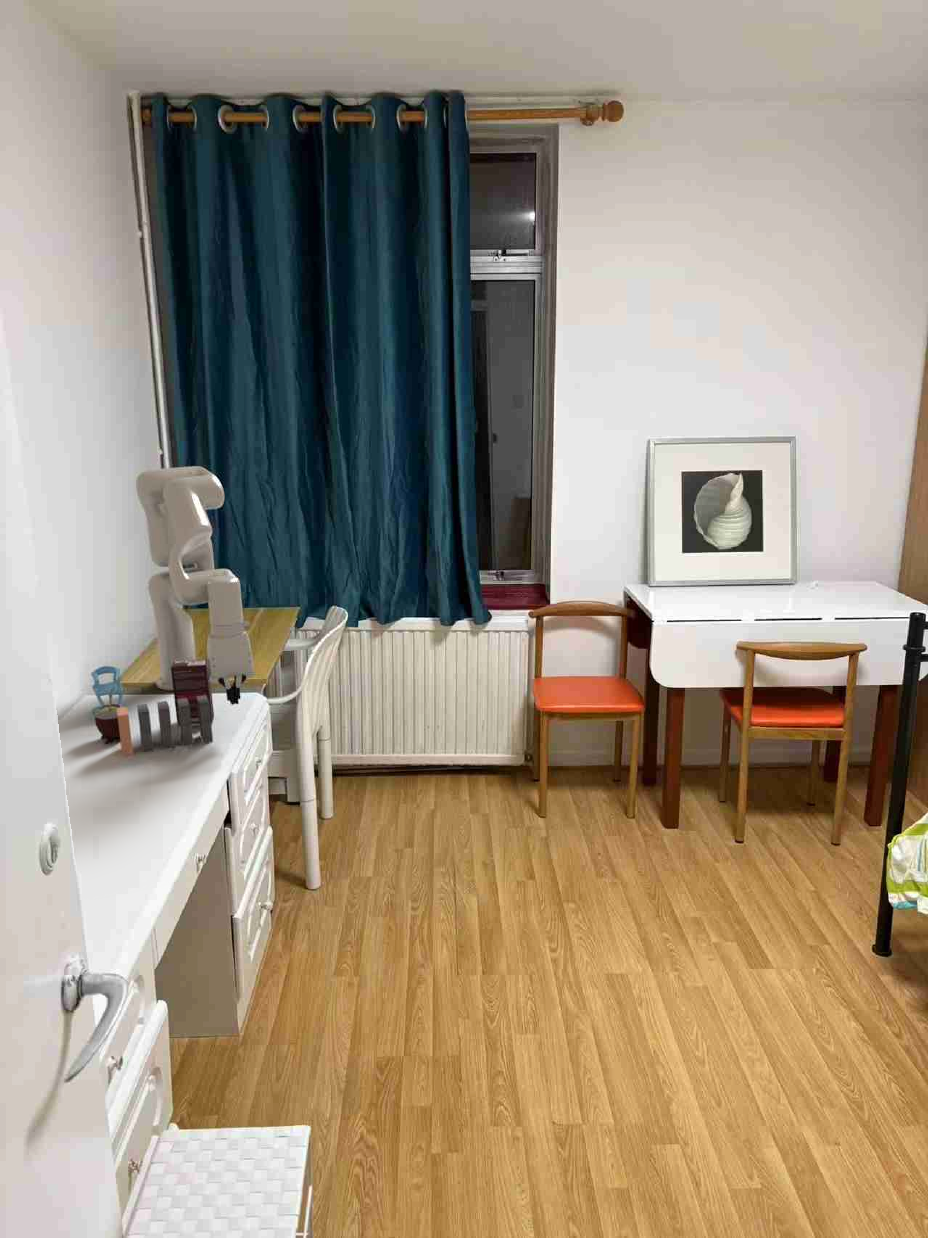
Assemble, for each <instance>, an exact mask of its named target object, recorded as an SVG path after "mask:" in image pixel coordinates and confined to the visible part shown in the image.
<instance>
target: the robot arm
mask: <svg viewBox="0 0 928 1238" xmlns="http://www.w3.org/2000/svg"><path fill="white" fill-rule="evenodd" d="M135 489H136V495H137V497H138V500H139V502H140V504H141V506H142V508H143V510H144V512H145V513H144V514H145V516H146V517H145V518H146V525H147V533H148V542H149V551H150V556H151V560H152V562H153V563H154V565H155V566H156V567H160V568H168V570H166V571H161V572H159V573H156V574H154V575H152V576H151V577H150V578H149V581H148V582H147V583H148V584H147V586H148V587H147V589H148V594H149V598H150V601H151V605H152V608H153V609H152V610H153V613H154V622H155V628H156V629H155V630H156V638H157V639H156V640H157V645H158V657H159V665H160V676H159V677H158V678H157V679H156V681H155V683H156V684H155V685H156V687H157V688H158V689H161V690H164V691H173V682H172V674H171V666H172V664H173V662H174V661H183V660H197V658H196V657H197V655H196V645H195V644H196V643H195V635H194V625H193V620H192V617H191V616H190V615H189V614H188V613H187V612H186V611H185V610H184V609H183V608H182V607H183V606H195V605H196V606H197V605H200V604H201V605H202V604H207V603H208V612H209V623H210V634H208V635H207V642H206V656H207V657H206V659H207V663H208V671H209V678H208V680H209V682H211V684H213V683H214V684H220V685H221V686H223V687H224V688H225V692H226V693H225V694H226V699H227V701H228V702H230V705H232V706H233V705H239V700H241V698H242V697H241V687H242V685H243V684H244V682H245V681H246V680H247V679H250V678H253V677H255V675H256V673H255V671H254V658H253V653H252V646H251V642H250V639H249V638H250V637H249V635H248V631H246V628H251V622H250V621H246V620H244V614H243V602H242V591H241V590H242V589H241V582H240V579H239V578H238V577H237V576H235V574H233V573H232V571H231V570H230V569H228V568H217V569H216V568H215V560H214V558H215V557H214V551H213V550H214V549H213V543H212V540H211V537H212V535H213V528H212V525H211V522H210V520H209V517H208V514H207V511H206V510H216V509H219V508H221V507H222V506H223V505H224V502H225V491H224V488H223V485H222V483H221V481H220V480H219V478H218V477H217V476H216V475H215V474H214V473H212V472H211V471H209V470H207V469H206V468H204V467H203V466H197V465H194V466H193V465H192V466H181V467H167V468H166V467H165V468H157V469H156V468H155V469H150V470H145V471H143V472H140V473H139V475H138V476H137V477H136V481H135ZM185 565H194V567H189V568H188V567H187V568H184V566H185ZM230 677H231V678H232V677H234V679H233V683H232V684H231V681H230Z"/></svg>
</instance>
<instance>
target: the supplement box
mask: <svg viewBox="0 0 928 1238" xmlns="http://www.w3.org/2000/svg"><path fill="white" fill-rule="evenodd" d="M171 674H172V682H173V690H172V691H173V699H174V707H175V714H176V715H175V716H176V725H177V728H180V723H179V713H178V704H177V699H183V698H187V700H188V703H189V705H190V715H191V725H192V727H199V716H198V706H197V696H203V695H206V696H207V698H208V701H209V705H210V715H211V726H213V724H214V720H215V711H214V705H213V692H212V683H211V682H209V680H208V678H209V671H208V663H207V658H204V659H196V660H183V661H174V662H173V664H172V666H171Z"/></svg>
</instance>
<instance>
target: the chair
mask: <svg viewBox="0 0 928 1238" xmlns="http://www.w3.org/2000/svg"><path fill="white" fill-rule="evenodd" d="M104 674H113V675H112V676H113V677H112V680H113V681H110V682H108V683H107V682H106V683H100V678H99V676H100V675H104ZM90 675H91V676H92V678H93V682H94V683H93V685H91V687H92V691H93V692H94V694H95V696H96V698H97V701H98V703H99V705H100V706H94V707H93V706H92V708H91V711H92V712H93V713H95V714H96V713H97V710H98V709H99V708H100V707H102V706H104V705H105V703H104V701H103V699H102V697H103V696H107V695H109V693H110V690H111V689H112V688H113V687H115V689H114V690H113V692H112V693H113V694H118V700H117V702H114V703H113V704H118V705H120V706H121V707H125V704H124V701H123V697H124V692H125V689H124V687H123V686H122V685H121V679H122V677H121V669H120V668H118V667H114V666H109V665H104V666H100V667H98V668H97V669H95V670H94V671H92V672H90ZM107 705H109V703H108V704H107Z"/></svg>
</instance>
